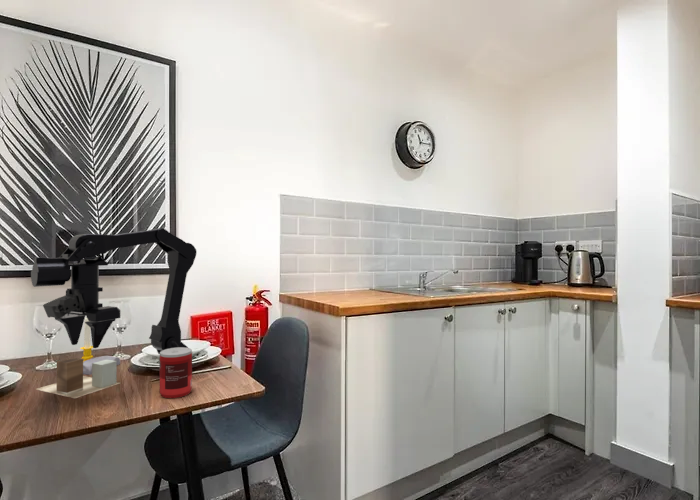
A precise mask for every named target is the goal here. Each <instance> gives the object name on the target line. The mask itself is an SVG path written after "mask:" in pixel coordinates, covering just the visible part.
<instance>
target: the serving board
mask: <svg viewBox="0 0 700 500" xmlns="http://www.w3.org/2000/svg"><path fill="white" fill-rule="evenodd" d="M119 384H121V382H117V381H116V383H115V384H112V385H109V386H106V387H103V388H100V387H96V386H92V376H86V375H83V390H81V391H78V392H75V393H72V394H69V395H63V394H59V393H57V382H55V383H52V384H48V385H43V386H42V387H38V388H35V390H37V391H41V392H44V393H48V394H49V393H50V394H54V395H59V396H63V397H67V398H71V399H77V398H80V397H83V396H84V397H85V396H86V395H89V394H92V393H96V392H99V391H101V390H105V389H108V388H111V387H114V386H116V385H119Z"/></svg>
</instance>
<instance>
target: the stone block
mask: <svg viewBox="0 0 700 500" xmlns="http://www.w3.org/2000/svg"><path fill="white" fill-rule="evenodd" d="M106 359H107V360H113V361H117V363H116V366H119V365H120V364H121V359H120V357H119V356H117V357H116V356H111V355H102V356H97V357H93V358H91V359H89V360H86V361H84V360H83V361H84V362H83V375H85V376H86V375H88V376H89V375H92V363H95V362H99V361H103V360H106Z"/></svg>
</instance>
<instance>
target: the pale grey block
mask: <svg viewBox="0 0 700 500" xmlns="http://www.w3.org/2000/svg"><path fill="white" fill-rule="evenodd" d="M116 363H117V361H113V360H107V359H106V360H103V361H99V362H95V363H92V374H91V377H92V386H96V387H100V388H103V387H106V386H109V385H112V384H115V383H116V382H117V365H116Z"/></svg>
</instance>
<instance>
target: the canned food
mask: <svg viewBox="0 0 700 500" xmlns="http://www.w3.org/2000/svg"><path fill="white" fill-rule="evenodd" d="M192 379H193V351H192V348H190V347H188V348H185V347H178V348H169V349H165V350H163V351H161V352H160V354H159V394H160V396H161V397H162V398H165V399H177V398H178V399H179V398H183V397H185V396H188V395H189V394H191V392H192V388H193V387H192V386H193V380H192Z"/></svg>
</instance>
